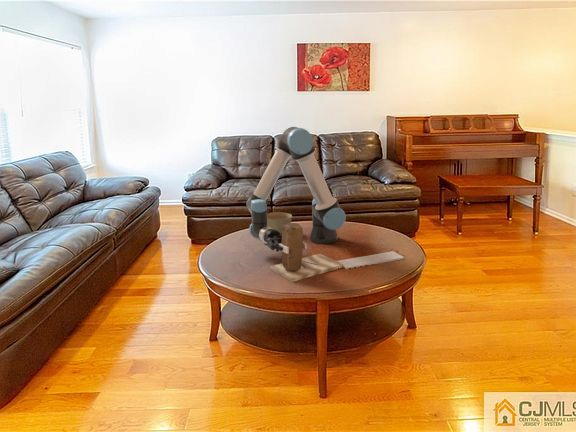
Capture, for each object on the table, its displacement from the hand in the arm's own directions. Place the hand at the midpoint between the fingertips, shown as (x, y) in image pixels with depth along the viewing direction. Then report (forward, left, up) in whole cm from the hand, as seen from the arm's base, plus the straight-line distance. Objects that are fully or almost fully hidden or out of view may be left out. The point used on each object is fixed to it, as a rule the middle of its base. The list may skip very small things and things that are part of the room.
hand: (296, 248), depth 202 cm
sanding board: (-7, -3, -12) cm, 15 cm away
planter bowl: (-25, -56, -12) cm, 63 cm away
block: (+1, -4, -10) cm, 11 cm away
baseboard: (-37, +6, -13) cm, 40 cm away
